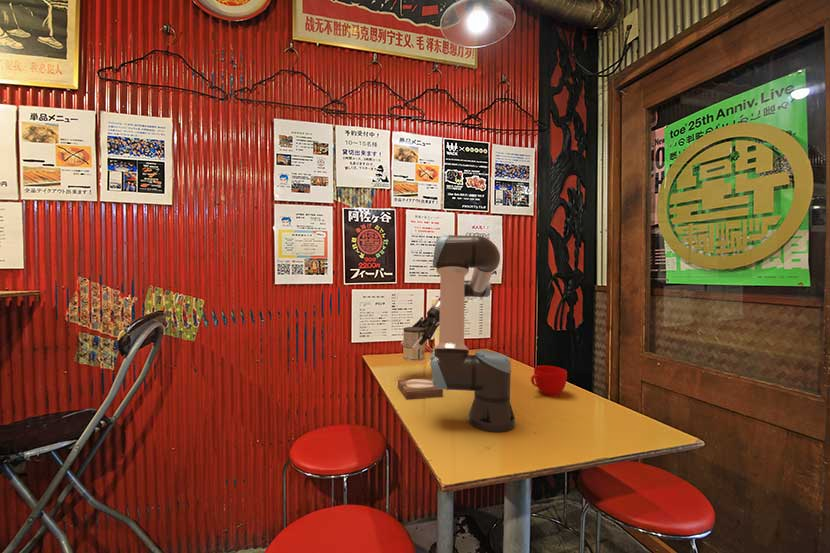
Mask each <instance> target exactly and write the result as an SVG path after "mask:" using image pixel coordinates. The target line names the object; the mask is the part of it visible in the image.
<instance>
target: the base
mask: <svg viewBox="0 0 830 553" xmlns="http://www.w3.org/2000/svg"><path fill="white" fill-rule="evenodd" d="M397 388H398V390H399V391H400V392H401V394H402V395H403V397H404V398H405V399H406V400H415V399H417V400H418V399H425V398H426V399H428V398H429V399H430V398H439V397H440V398H441V397H443V396H444V389H437V388H435V387H434V385H433V379H432V377H428V378H427V377H423V378H412V379H411V378H409V379H398V380H397Z"/></svg>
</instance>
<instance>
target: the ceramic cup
mask: <svg viewBox="0 0 830 553" xmlns="http://www.w3.org/2000/svg"><path fill="white" fill-rule="evenodd" d="M567 379H568V371H567V369H564V368H562V367H558V366H553V365H537V366H536V365H535V367H534V368H533V374H532V375H531V377H530V381H531V383H532V385H533V386H534V387H536V388H537V389H538V390H539V391H540V392H542V393H543V395H544V394H545V396H548V397H557V396H559V395H560V394H561V393H562V392H563V391H564V389H565V387H566V384H567ZM542 393H541V394H542Z"/></svg>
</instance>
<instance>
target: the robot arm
mask: <svg viewBox="0 0 830 553" xmlns="http://www.w3.org/2000/svg"><path fill="white" fill-rule="evenodd" d="M500 262H501V253H500V251H499V249H498V247H497V246H496V245H495V243H494V242H493V241H492V240H490V239H489V238H487V237H484V236H481V235H458V234H456V235H451V234H448V235H447V234H446V235H439V236H438V237H436V241H435V246H434V250H433V259H432V267H434V268H436V273H437V274H438V275H439V276H440V282H439V283H440V284H439V286H440V288H439V289H440V290H439V291H440V292H439V293H440V294H439V297H438V298H437V300H436V301H434V303H433V304H432V306H431V307H430V308H428V310H427V312H426V316H425V317H424V316H421V317H420V319H419V320H418V321H416V322H415V323H414V324H413V325H412V326H411V327H422V328H425V332H424V334H423V337H422V336H421V337H420V338H419V340H418V341H417V342H416V343H415V345H414V346H413V347H412V348H413V349H414V350H415V351H416V352H417V351H418V349H419V348H420V347H421V346H422V345H423V343H424V342H425V343H426V341H428V340H429V341H430V340H431V339H432V338H433V336H434V334H435V332H436V331H437V329H438V327H439V329H438V331H439V334H438V335H439V336H438V344H437V345H436V346H435V347H434V352H432V353H430V355H429V358H430V369H431V376H432V377H431V378H432V379H433V385H434V387H435V388H437V389H443V390H446V391H466V392H467V391H473V392H474V393H473V394H474V398H473V400H472V402H471V405H470V409H469V412H468V423H469V424H470V425H472V426H473V427H475V428H477V429H479V430H482V431H485V432H486V431H487V432H493V433H495V432H496V433H502V432H509V431H511V430H513V429H514V428H515V426H516V424H515V423H516V417H515V414H514V410H513V408H512V403H511V373H512V367H511V366H512V365H511V364H512V363H511V360H510V358H509V357H508V356H507V355H505V354H503V353H500V352H496V351H493V350H489V349H488V350H487V349H478V350H476V351H475V352H474V354H470V353H469V351H470V350H469V349H470V348H468V347H467V345H465V297H467V298H468V297H472V298H488V297H490V295H491V288H492V287H491V282H490V280H491V277H492V275H493V272H495V270H497V269H498V267H499V265H500ZM471 268H472V269H473V272H472V276H471V278H470V280H466V279H465V277H466V275H467V274H468V273H469V272H470V270H469V269H471ZM400 344H401V345H402V346H403V340H402V341H401V342H400Z"/></svg>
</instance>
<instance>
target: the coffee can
mask: <svg viewBox="0 0 830 553" xmlns="http://www.w3.org/2000/svg"><path fill="white" fill-rule="evenodd" d="M425 329H426V328H422V327H412V326H407V327H404V328H403V329H402V330H403V338H402V341H403V345H402V350H403V352H402V359H403V360H404V361H408V362H422V361H424V360H426V341H425V342H424V343H423V345H422V346H421V347H420V348H419V349H418V351H417V352H416V351H415V350H414V349H413V348H412V347H413V346H414V345H415V343H416V342H417V341H418V340H419V338H420V337H421V336H422V337H423V334H424V332H425Z"/></svg>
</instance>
